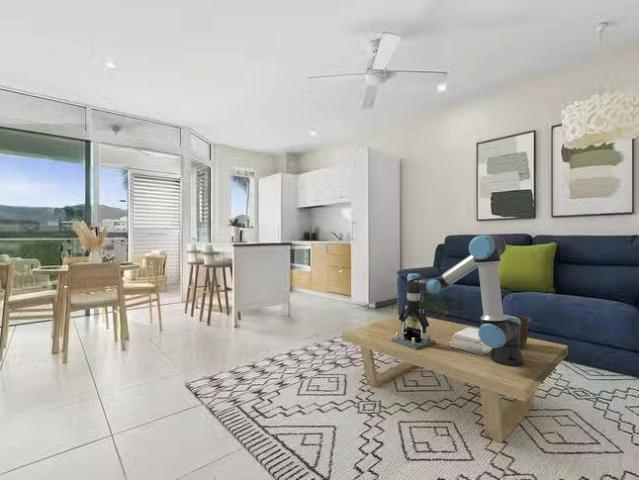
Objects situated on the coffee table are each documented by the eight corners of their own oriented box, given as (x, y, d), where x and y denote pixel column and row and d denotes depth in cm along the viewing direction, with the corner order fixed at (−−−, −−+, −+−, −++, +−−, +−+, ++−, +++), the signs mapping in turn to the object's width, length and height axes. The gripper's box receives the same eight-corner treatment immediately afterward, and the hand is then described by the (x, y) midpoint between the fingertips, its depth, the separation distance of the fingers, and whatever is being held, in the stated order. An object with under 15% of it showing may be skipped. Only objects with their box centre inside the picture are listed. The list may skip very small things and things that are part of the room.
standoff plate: (435, 343, 196) (435, 334, 196) (416, 349, 185) (416, 339, 185) (410, 335, 211) (410, 326, 210) (391, 341, 200) (391, 332, 200)
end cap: (424, 340, 196) (424, 329, 196) (417, 343, 192) (417, 331, 192) (409, 336, 204) (409, 325, 204) (402, 339, 199) (403, 327, 199)
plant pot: (523, 352, 182) (524, 323, 181) (493, 344, 194) (493, 317, 194) (534, 346, 192) (535, 318, 191) (504, 338, 204) (505, 312, 204)
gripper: (435, 302, 189) (435, 339, 190) (401, 295, 210) (400, 329, 210) (427, 304, 185) (427, 342, 186) (393, 297, 205) (392, 331, 206)
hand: (413, 335), depth 198 cm, fingers open, 13 cm apart
